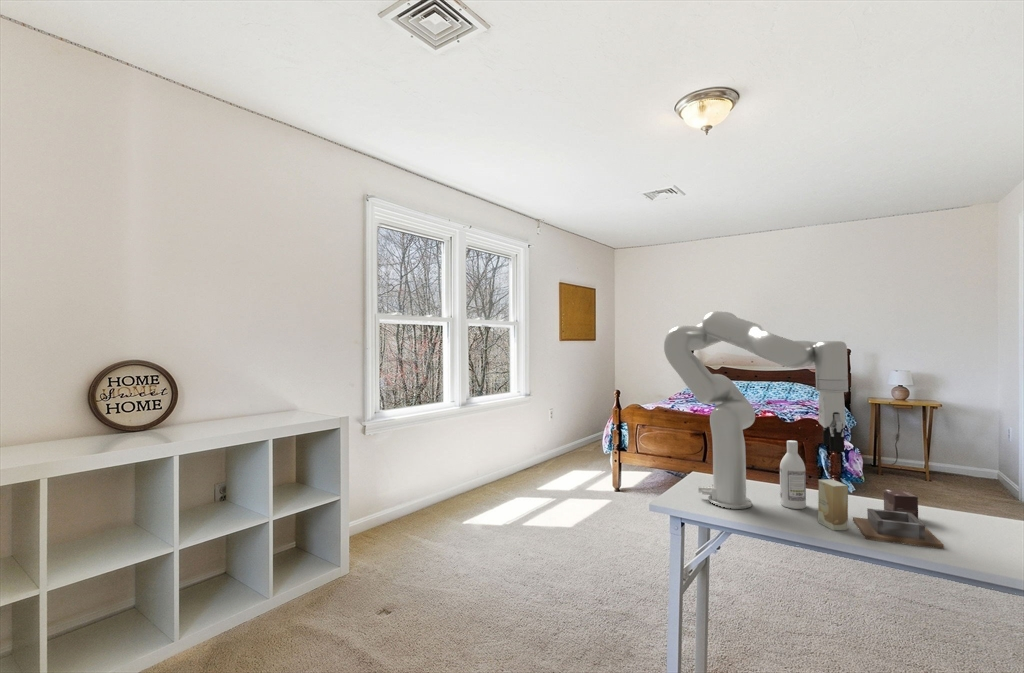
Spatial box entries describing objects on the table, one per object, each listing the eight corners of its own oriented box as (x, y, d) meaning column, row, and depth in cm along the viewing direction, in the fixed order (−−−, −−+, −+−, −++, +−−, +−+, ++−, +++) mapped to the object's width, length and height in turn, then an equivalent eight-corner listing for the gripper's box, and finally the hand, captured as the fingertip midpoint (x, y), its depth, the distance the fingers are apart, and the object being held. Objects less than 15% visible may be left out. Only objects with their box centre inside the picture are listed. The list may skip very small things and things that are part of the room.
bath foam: (811, 508, 153) (810, 442, 153) (794, 510, 150) (793, 444, 150) (791, 501, 159) (790, 438, 159) (775, 503, 157) (774, 440, 157)
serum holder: (865, 539, 129) (865, 521, 129) (852, 520, 142) (852, 504, 142) (943, 548, 123) (943, 530, 123) (922, 528, 136) (922, 511, 136)
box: (919, 523, 140) (918, 496, 140) (894, 521, 141) (894, 495, 141) (906, 515, 146) (906, 490, 146) (883, 514, 147) (882, 489, 147)
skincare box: (817, 522, 141) (816, 479, 141) (832, 521, 141) (831, 478, 141) (834, 531, 134) (833, 485, 134) (849, 530, 135) (848, 485, 135)
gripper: (810, 383, 147) (812, 441, 147) (821, 388, 131) (823, 453, 131) (840, 383, 144) (842, 442, 144) (855, 388, 128) (857, 455, 128)
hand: (833, 448), depth 138 cm, fingers open, 9 cm apart
